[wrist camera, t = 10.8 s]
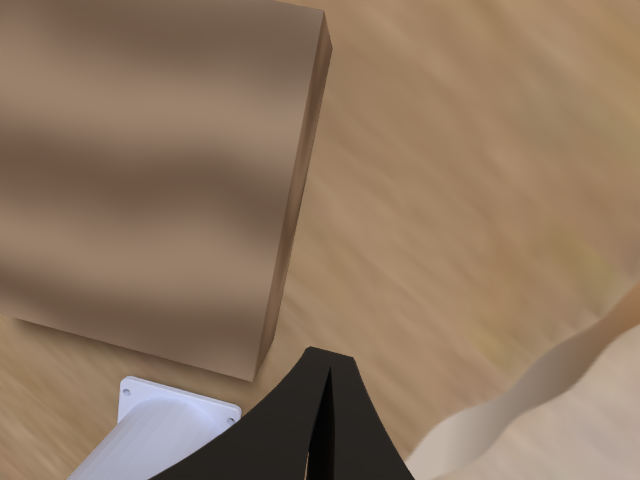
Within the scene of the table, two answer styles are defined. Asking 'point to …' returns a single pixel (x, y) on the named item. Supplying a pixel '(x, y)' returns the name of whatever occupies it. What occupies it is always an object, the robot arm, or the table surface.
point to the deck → (156, 169)
